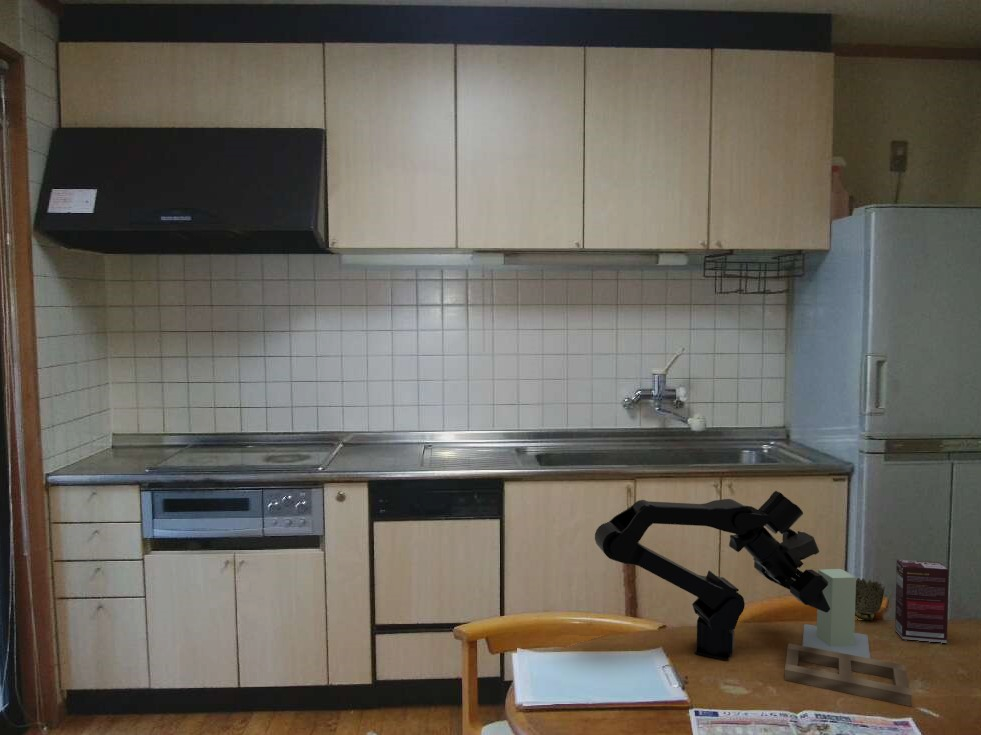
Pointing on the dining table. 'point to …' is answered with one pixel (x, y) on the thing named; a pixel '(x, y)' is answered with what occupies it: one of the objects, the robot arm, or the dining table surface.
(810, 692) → the dining table surface
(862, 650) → the grey mat
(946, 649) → the dining table surface
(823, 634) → the sage block
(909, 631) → the supplement box
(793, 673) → the puzzle board
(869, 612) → the dark olive textured piece
